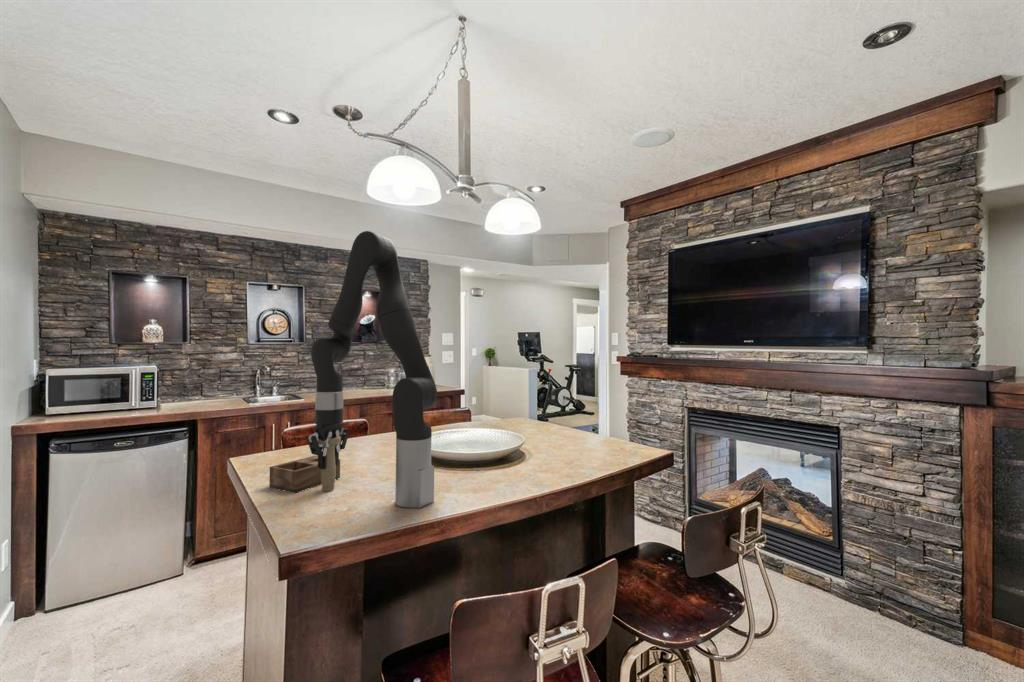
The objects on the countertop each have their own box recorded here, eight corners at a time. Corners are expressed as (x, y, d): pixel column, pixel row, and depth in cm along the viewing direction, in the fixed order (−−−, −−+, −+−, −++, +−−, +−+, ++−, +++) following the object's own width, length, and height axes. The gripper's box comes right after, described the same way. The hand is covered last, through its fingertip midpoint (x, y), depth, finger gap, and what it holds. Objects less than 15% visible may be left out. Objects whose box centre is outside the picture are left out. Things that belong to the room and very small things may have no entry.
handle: (339, 491, 128) (340, 438, 128) (315, 493, 126) (315, 440, 126) (340, 486, 132) (341, 435, 133) (316, 488, 130) (317, 436, 131)
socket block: (339, 478, 141) (340, 459, 141) (295, 493, 126) (295, 471, 127) (314, 474, 146) (315, 455, 146) (269, 487, 131) (269, 466, 131)
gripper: (318, 410, 122) (317, 474, 121) (357, 405, 134) (356, 463, 134) (299, 409, 125) (298, 471, 125) (339, 403, 138) (338, 460, 137)
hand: (328, 466), depth 129 cm, fingers closed on handle, 3 cm apart
